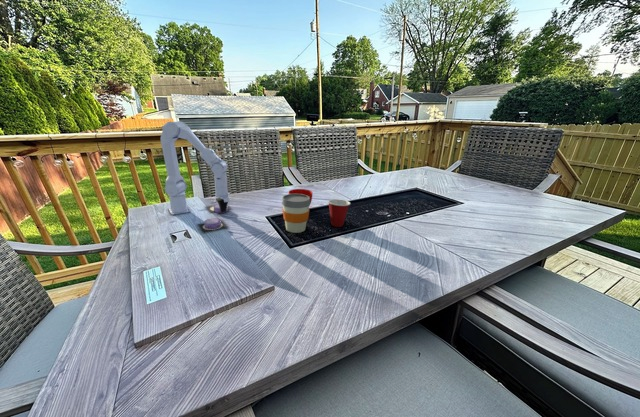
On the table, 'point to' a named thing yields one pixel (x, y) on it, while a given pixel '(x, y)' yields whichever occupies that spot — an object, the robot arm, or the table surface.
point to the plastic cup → (338, 211)
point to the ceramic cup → (302, 192)
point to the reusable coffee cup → (295, 212)
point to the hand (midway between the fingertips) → (223, 211)
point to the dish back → (218, 209)
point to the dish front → (212, 223)
